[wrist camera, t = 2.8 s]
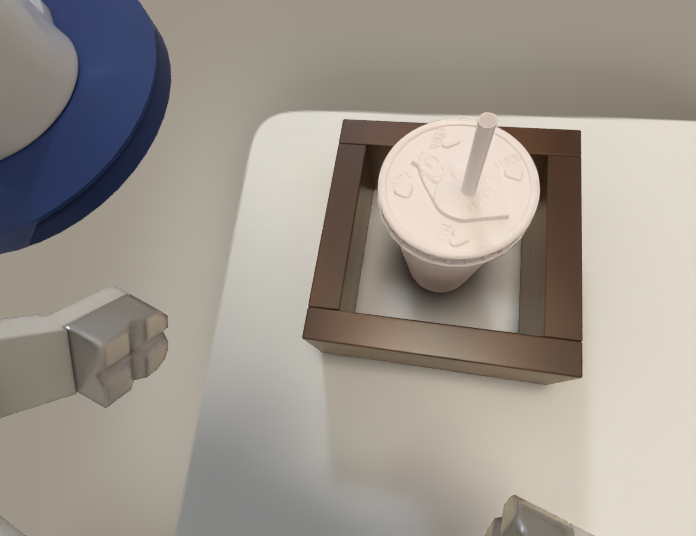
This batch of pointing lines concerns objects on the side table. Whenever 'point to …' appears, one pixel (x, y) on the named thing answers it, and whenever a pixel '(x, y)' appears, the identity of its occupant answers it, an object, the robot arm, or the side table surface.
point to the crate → (442, 339)
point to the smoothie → (456, 197)
